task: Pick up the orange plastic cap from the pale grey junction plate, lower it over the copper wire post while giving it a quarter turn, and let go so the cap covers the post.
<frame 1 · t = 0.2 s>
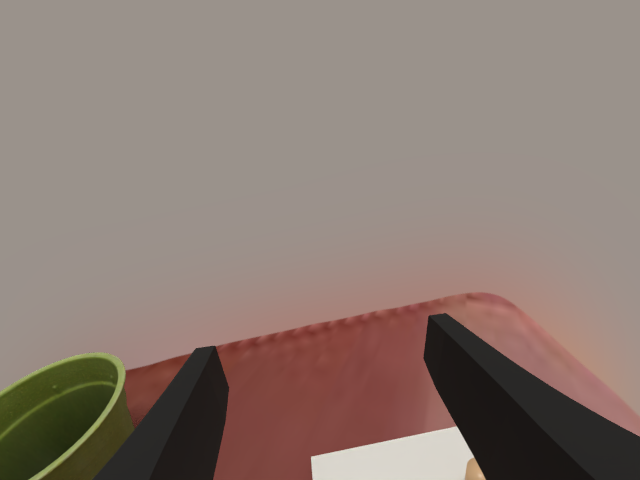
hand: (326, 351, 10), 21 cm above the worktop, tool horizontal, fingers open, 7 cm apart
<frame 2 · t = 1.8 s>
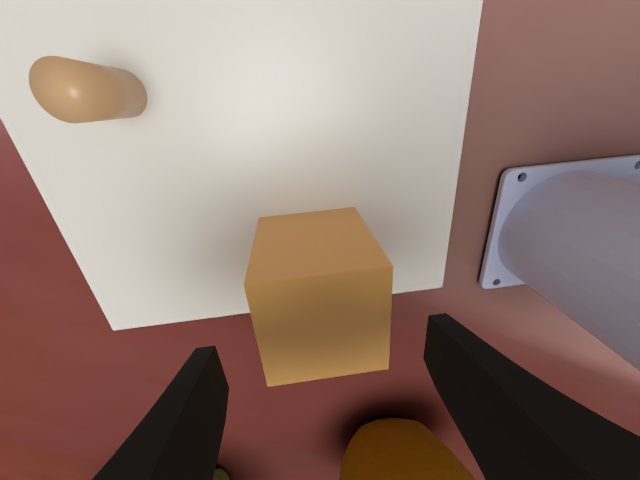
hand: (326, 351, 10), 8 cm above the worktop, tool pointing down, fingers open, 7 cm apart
plant pot: (191, 477, 26), on the worktop
orange wire cap: (311, 254, 16), point 1 cm above the worktop, touching junction plate
apple: (383, 427, 26), on the worktop
junction plate: (263, 173, 15), on the worktop
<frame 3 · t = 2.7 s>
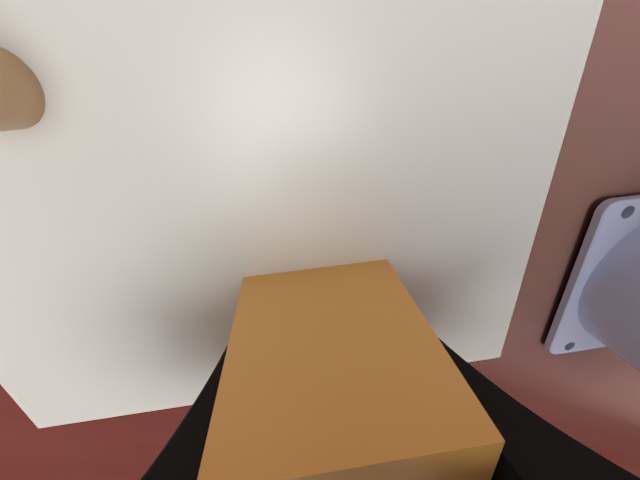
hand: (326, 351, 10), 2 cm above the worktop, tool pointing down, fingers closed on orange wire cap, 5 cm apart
orange wire cap: (321, 323, 11), point 1 cm above the worktop, touching gripper, junction plate
junction plate: (250, 210, 10), on the worktop
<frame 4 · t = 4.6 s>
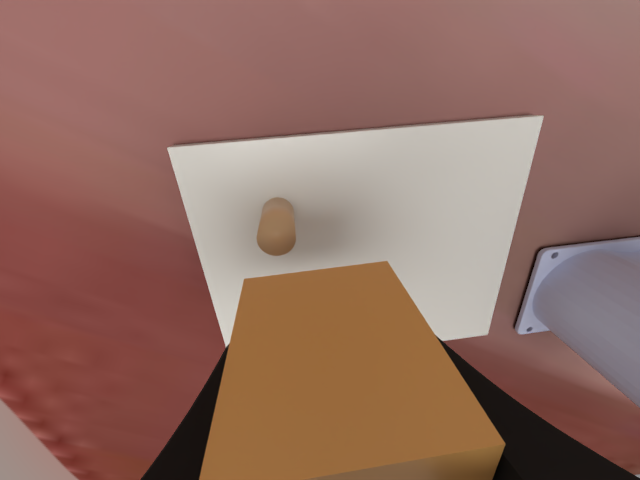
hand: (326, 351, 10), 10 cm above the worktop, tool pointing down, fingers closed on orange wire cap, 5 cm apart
orange wire cap: (322, 324, 11), point 8 cm above the worktop, touching gripper
junction plate: (360, 255, 19), on the worktop
when the fingers open (4 cm above the worktop, at t = 6.3 s): orange wire cap drops 2 cm, resting on junction plate.
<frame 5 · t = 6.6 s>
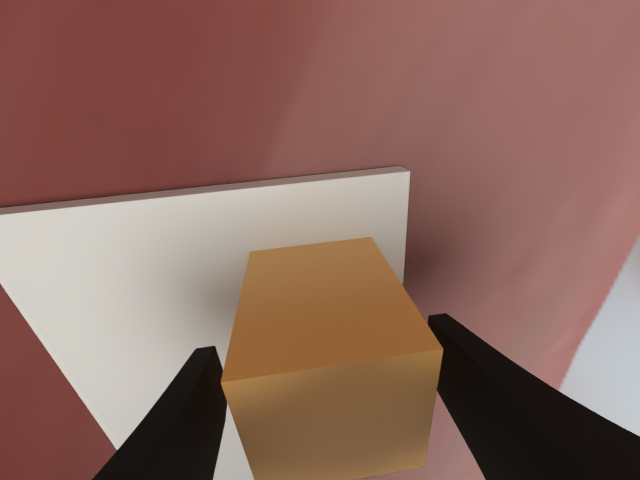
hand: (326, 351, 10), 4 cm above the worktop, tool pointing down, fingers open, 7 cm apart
orange wire cap: (316, 293, 13), point 1 cm above the worktop, touching junction plate
junction plate: (249, 364, 16), on the worktop
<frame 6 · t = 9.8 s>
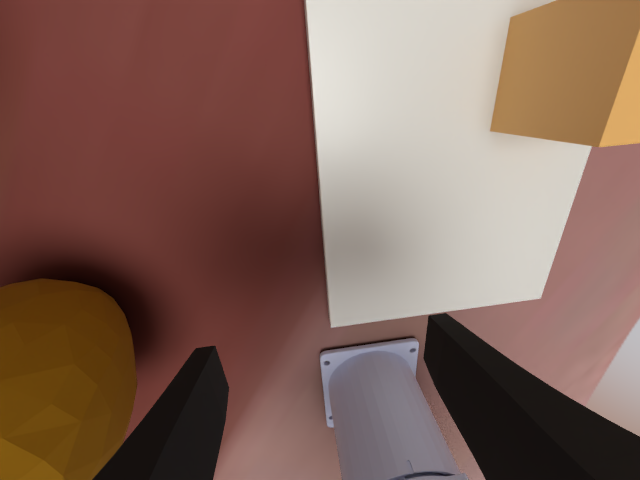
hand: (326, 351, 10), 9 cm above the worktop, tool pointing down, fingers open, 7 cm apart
orange wire cap: (545, 74, 15), point 1 cm above the worktop, touching junction plate
apple: (89, 313, 19), on the worktop
junction plate: (448, 174, 17), on the worktop
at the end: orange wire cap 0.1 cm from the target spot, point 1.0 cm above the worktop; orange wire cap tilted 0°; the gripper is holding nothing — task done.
